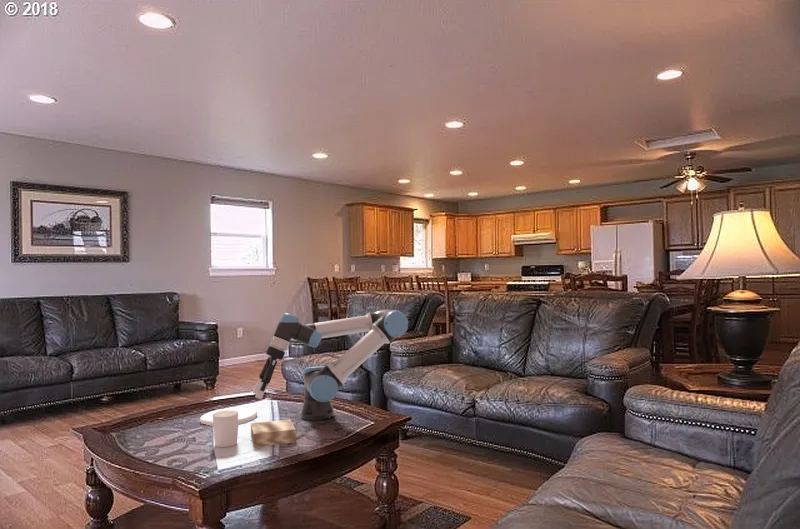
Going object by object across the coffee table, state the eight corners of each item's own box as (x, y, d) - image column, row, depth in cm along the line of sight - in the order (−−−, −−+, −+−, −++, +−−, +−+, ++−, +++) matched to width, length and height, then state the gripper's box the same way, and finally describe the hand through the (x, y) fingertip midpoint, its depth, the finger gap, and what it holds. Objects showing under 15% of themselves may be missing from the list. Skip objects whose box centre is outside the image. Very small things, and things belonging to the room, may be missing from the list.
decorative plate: (231, 401, 270) (267, 407, 257) (231, 410, 270) (267, 416, 257) (187, 413, 249) (225, 420, 236) (188, 422, 249) (225, 430, 236)
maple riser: (290, 431, 230) (290, 419, 230) (295, 442, 215) (295, 429, 215) (251, 435, 225) (250, 423, 225) (253, 447, 210) (253, 433, 210)
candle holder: (231, 448, 208) (230, 417, 209) (207, 447, 210) (207, 416, 211) (243, 440, 218) (243, 410, 218) (221, 439, 220) (220, 409, 220)
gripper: (266, 343, 245) (246, 388, 241) (272, 346, 222) (250, 397, 217) (282, 349, 247) (262, 394, 243) (289, 353, 224) (268, 403, 219)
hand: (256, 395), depth 230 cm, fingers open, 13 cm apart
